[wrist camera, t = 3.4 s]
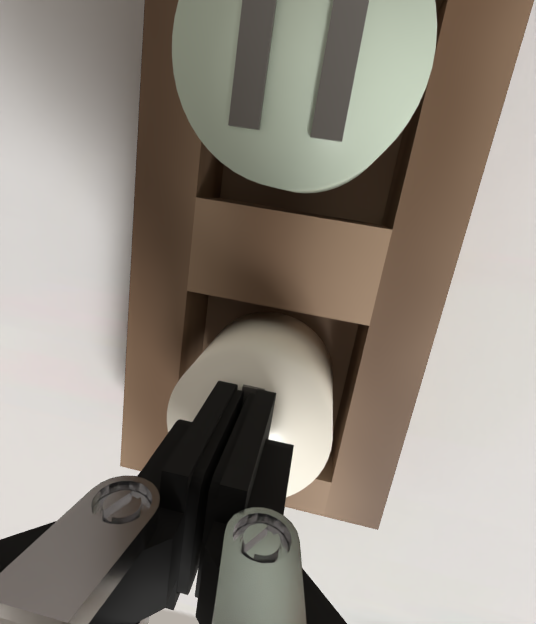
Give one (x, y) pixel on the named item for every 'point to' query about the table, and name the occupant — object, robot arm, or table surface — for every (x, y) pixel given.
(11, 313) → the table surface
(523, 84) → the table surface
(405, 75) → the button
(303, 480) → the button
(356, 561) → the table surface
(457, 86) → the button board
